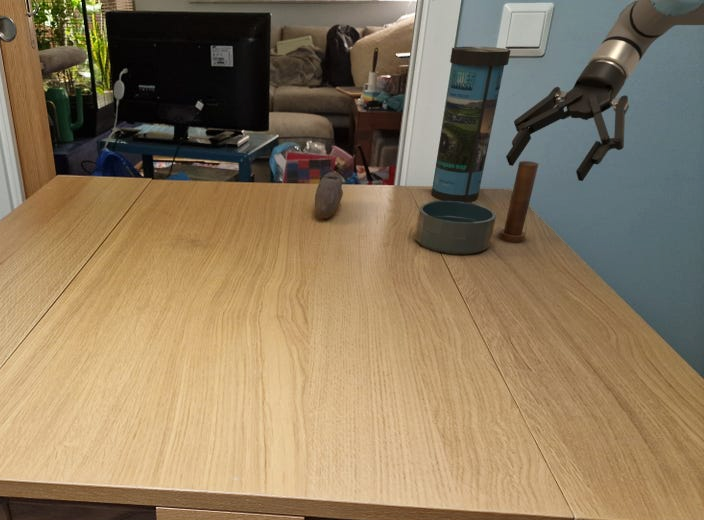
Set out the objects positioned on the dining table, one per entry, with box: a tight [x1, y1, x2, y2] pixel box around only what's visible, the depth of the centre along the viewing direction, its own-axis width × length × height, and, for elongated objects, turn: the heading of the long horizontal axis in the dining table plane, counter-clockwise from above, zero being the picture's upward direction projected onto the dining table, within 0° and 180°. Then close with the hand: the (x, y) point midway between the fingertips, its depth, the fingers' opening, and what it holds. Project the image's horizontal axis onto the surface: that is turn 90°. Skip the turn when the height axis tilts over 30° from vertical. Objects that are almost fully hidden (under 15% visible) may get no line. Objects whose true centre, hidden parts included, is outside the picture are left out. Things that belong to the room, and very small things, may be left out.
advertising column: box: [431, 46, 512, 203], centre depth 141 cm, size 11×11×30 cm
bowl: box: [414, 200, 497, 256], centre depth 121 cm, size 13×13×6 cm
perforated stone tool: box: [314, 171, 344, 219], centre depth 136 cm, size 15×5×7 cm, turn 162°
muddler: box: [498, 160, 539, 243], centre depth 121 cm, size 4×4×14 cm
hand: (542, 168), depth 122 cm, fingers open, 13 cm apart
